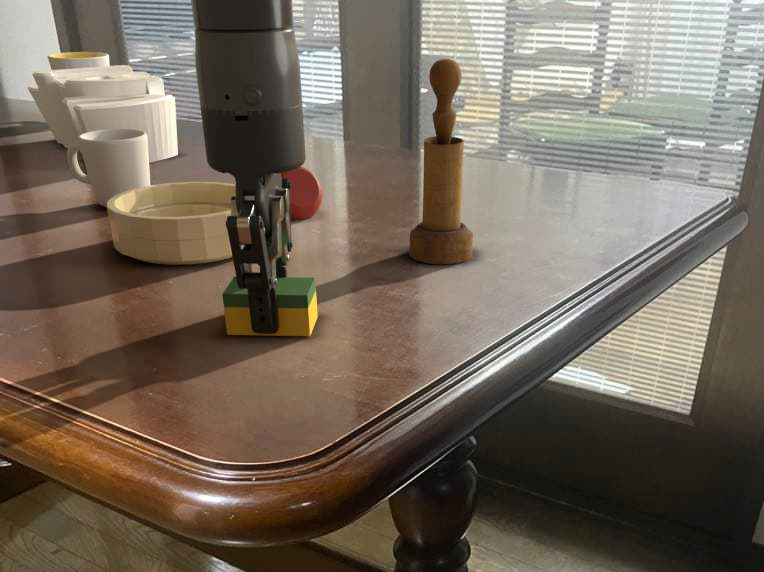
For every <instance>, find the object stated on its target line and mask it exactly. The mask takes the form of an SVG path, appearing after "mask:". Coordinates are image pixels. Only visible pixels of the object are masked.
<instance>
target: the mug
mask: <svg viewBox="0 0 764 572" xmlns="http://www.w3.org/2000/svg"><path fill="white" fill-rule="evenodd" d="M46 57H47V60H48V62H49V63H48V64H49V66H50V70H61V69H75V68H89V67H103V66H111V64H110V55H109V54H108V53H106V52H98V51H97V52H96V51H70V52H55V53H50V54H47V56H46Z"/></svg>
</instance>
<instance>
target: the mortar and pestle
mask: <svg viewBox="0 0 764 572" xmlns="http://www.w3.org/2000/svg"><path fill="white" fill-rule="evenodd" d="M428 79H429V84H430V87H431V89H432V91H433V93H434V95H435V98H436V108H435V110H434V111H433V112H432V115H431V116H432V122H433V127H434V128H433V129H434V132H435V135H433V136H429V137H427V138H424V139H423V184H422V186H423V190H422V217H421V218H422V220H421V222H419V223H418V224H417V225H416V226H415V227H414V228H413V229H411V230H410V232H409V256H410V258H412V259H413V260H415V261H418V262H420V263H425V264H431V265H452V264H460V263H463V262H466V261H468V260H470V259H471V258H472V256H473V248H474V247H473V246H474V234H473V231H472V230H471V229H469V228H468V227H467V225H466V224H465V223H464V222H461V220H462V218H461V217H462V195H463V172H464V171H463V170H464V147H465V141H464V139H463V138H460V137H456V136H452V135H453V132H454V127H455V124H456V121H457V112H455V111H454V109H453V100H454V97H455V95H456V93H457V91H458V89H459V87H460V85H461V82H462V70H461V68H460V65H459V63H458V62H457V61H456V60H454V59H451V58H441V59H438V60H436V61H435V62H433V64H431V67H430V69H429V75H428Z"/></svg>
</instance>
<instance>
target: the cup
mask: <svg viewBox="0 0 764 572" xmlns="http://www.w3.org/2000/svg"><path fill="white" fill-rule="evenodd" d="M78 152H80V153H81V155H82V159H83V162H84V166H85V170H86V173H87V174H85V173H83V171H82V169H81V168H80V166H79V162H78ZM66 159H67V163H68V167H69V170H70V172H71V174H72V175H73V177H74V178H75V179H76V181H78V182H80V183H83V184H87V185H90V186H91V189H92V192H93V195H94V197H95V199H96V201H97V203H98V204H99V205H100V206H102V207H104V208H107V201H108V200H109V199H111V198H112V197H113V196H115V195H117V194H120V193H123V192H125V191H128V190H131V189H136V188H140V187H145V186H150V185H151V173H150V172H151V171H150V162H149V154H148V138H147V134H146V133H145V132H143V131H140V130H134V129H107V130H97V131H91V132H87V133H84V134H81V135H80V136H79V137H78V142H77V143H74V144H72V145H71V146H70V147H69V148H67V150H66Z"/></svg>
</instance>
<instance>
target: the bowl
mask: <svg viewBox="0 0 764 572" xmlns="http://www.w3.org/2000/svg"><path fill="white" fill-rule="evenodd" d="M235 184H236V183H235ZM235 184H234V183H229V182H217V181H180V182H166V183H159V184H150V186H145V187H140V188H136V189H131V190H128V191H125V192H123V193H120V194H117V195H115V196H113V197H112V198H111V199H109V200H108V201H107V207H106V210H107V215H108V221H109V226H110V231H111V237H112V243H113V248H114V249H115V250H116V251H118V253H120V254H121V255H124V256H127V257H130V258H133V259H135V260H138V261H142V262H146V263H150V264H159V265H173V266H174V265H175V266H177V265H178V266H179V265H181V266H182V265H199V264H207V263H208V264H209V263H214V262H219V261H224V260H227V259H228V260H229V259H231V258H233V257H232V252H231V247H230V241H229V236H228V231H227V228H226V221H227V216H231V196H236V191H235Z"/></svg>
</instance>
